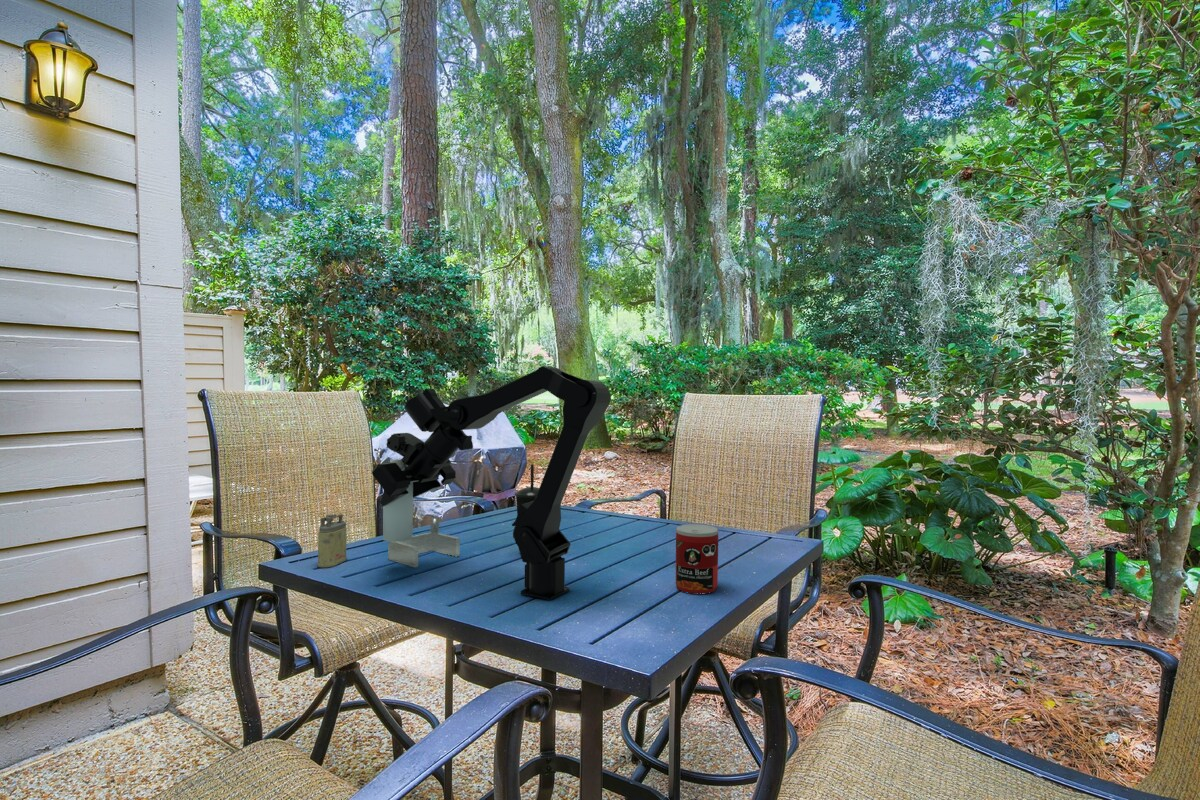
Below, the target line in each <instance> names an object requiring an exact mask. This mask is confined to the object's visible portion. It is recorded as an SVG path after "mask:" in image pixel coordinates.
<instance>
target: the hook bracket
mask: <svg viewBox="0 0 1200 800" xmlns="http://www.w3.org/2000/svg"><path fill="white" fill-rule="evenodd" d="M439 525H440V519H439V517H432V518H430V531H429V532H425V533H421V534H416V535H413V538H412V539H409V540H405V541H395V542H392V541H387V542H388V545H387V547H388V550H387V552H388V553H387V559H388V560H389V561H392V562H395V563H398V564H402V565H404V566H408V567H411V568H415V569H416V568H418V567H419V554H423V553H427V552H432V551H433V552H437V553H439V554H440V553H441V554H443V555H447V554H448V555H447V556H450V555H452V556H451V557H454V556H455V557H454V558H458V557H457V556H459V557H460V550H461V549H460V546H461V545H460V542H461V539H460V537H457V536H452V535H449V534H445V533H440V531H439V530H440V529H439V528H440V527H439Z"/></svg>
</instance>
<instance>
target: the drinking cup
mask: <svg viewBox="0 0 1200 800" xmlns="http://www.w3.org/2000/svg"><path fill="white" fill-rule="evenodd" d="M534 469H535V464H533V463H531V464H530V487H529V486H528V487H524V488H521V489H520V490H518V491H516V492H514V497H515V501H516V502H515V503H516V514H518V510H519V507H520V505H522V504H525V503H529V502H532V501H534V499H535V498H536V496H537V493H538V490H539V488H540V487H536V486H534V485H535V484H534V483H535V481H534V474H535V472H534V471H535V470H534Z"/></svg>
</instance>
